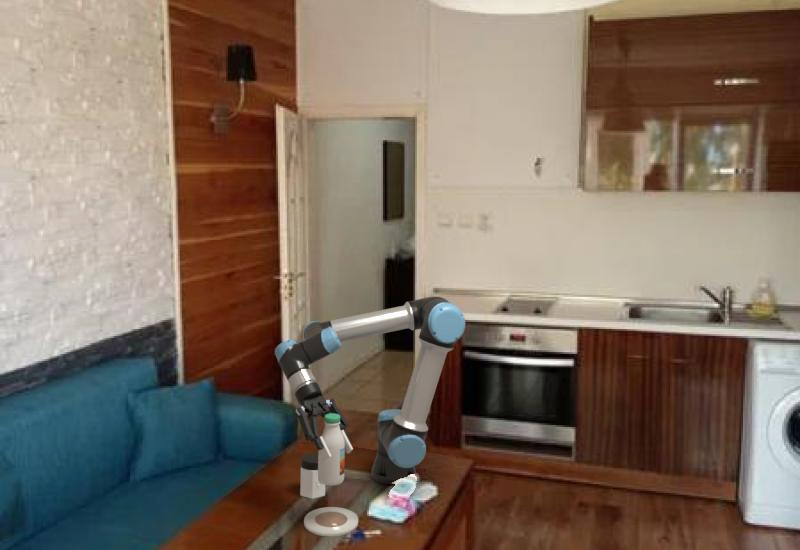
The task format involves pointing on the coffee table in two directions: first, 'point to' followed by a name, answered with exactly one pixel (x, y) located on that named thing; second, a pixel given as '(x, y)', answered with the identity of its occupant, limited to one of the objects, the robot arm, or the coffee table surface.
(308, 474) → the jar
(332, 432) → the milk bottle
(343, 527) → the trivet
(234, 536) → the coffee table surface
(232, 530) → the coffee table surface
